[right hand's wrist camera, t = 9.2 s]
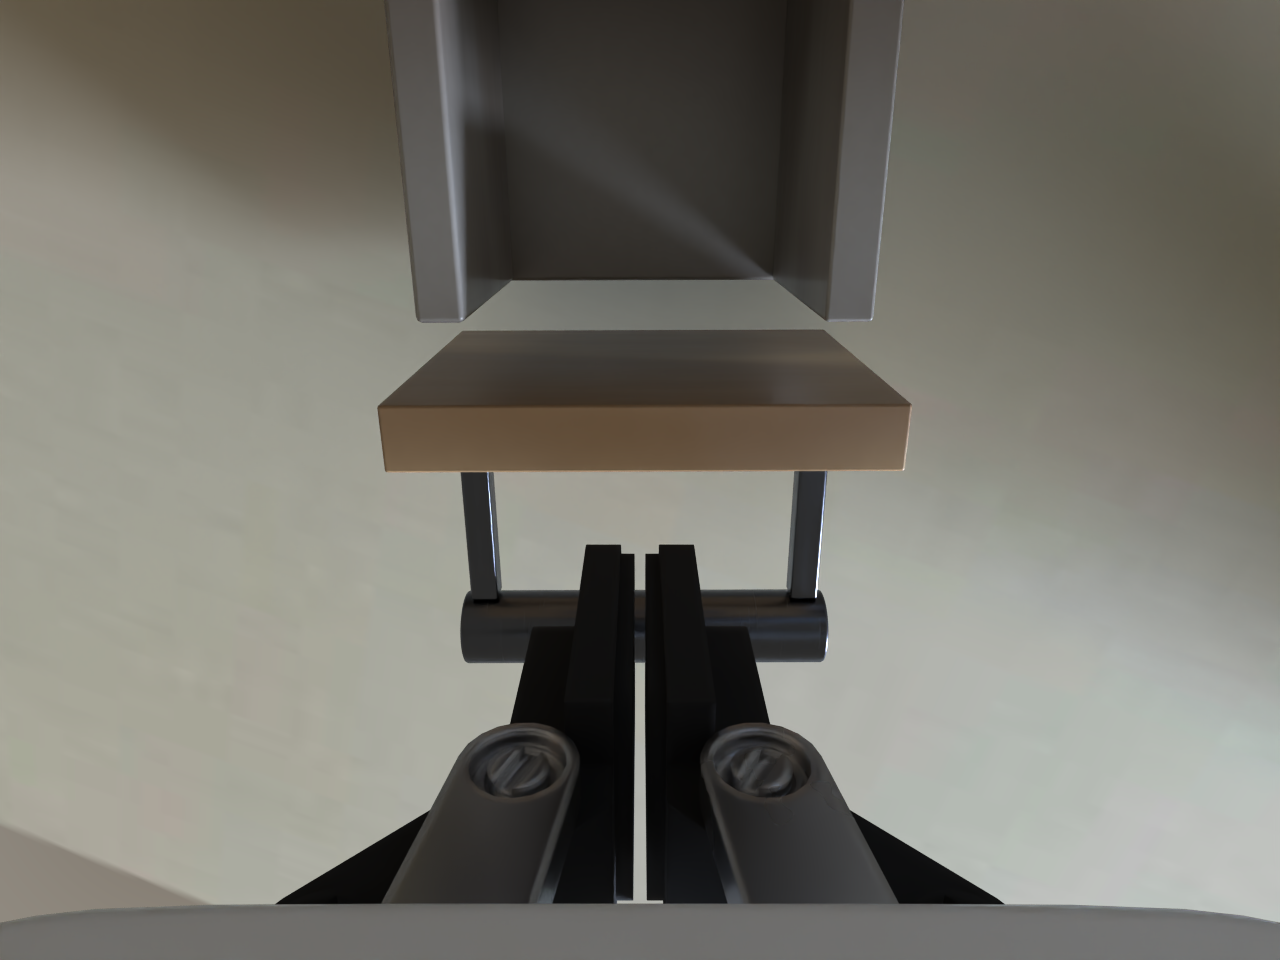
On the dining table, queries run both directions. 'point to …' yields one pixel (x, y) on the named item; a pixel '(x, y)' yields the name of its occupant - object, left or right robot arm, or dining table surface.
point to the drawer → (644, 262)
